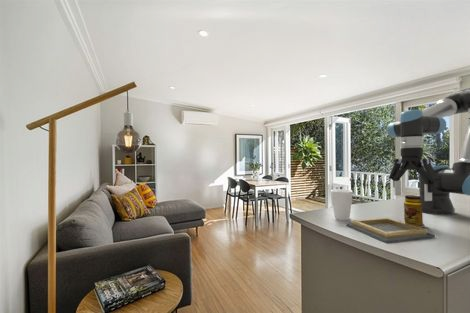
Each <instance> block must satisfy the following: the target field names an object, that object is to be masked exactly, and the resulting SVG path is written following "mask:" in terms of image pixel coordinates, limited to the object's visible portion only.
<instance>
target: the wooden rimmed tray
mask: <svg viewBox="0 0 470 313" xmlns="http://www.w3.org/2000/svg"><path fill="white" fill-rule="evenodd" d="M345 226H346V227H347V228H350V229H353V230H355V231H358V232H360V233H362V234H365V235H367V236H369V237H371V238H374V239H376V240H379V241H381V242H384V243H386V244H387V243H397V242H405V241H406V242H407V241H414V240H415V241H416V240H424V239H435V238H436V235H435V234H434V233H430V232H428V229H427V228H424V227H417V226H413V225H410V224H407V223H403V222H402V221H401V220H400V221H399V220H396V219H393V218H389V217H380V218H379V217H378V218H368V219H367V218H366V219H365V218H364V219H357V220H356V219H355V220H354V219H353V220H351V222H349V223H346V224H345Z"/></svg>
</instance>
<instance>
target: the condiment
mask: <svg viewBox="0 0 470 313" xmlns="http://www.w3.org/2000/svg"><path fill="white" fill-rule="evenodd" d="M403 209H404V210H403V212H404V214H403V216H404V218H403V219H404V220H401V222H405V223H407V224H410V225H413V226H417V227H420V228H427V226H426V225H425V224H424V222H423V221H424V220H423V215H424V214H423V212H422V203H421V197H420V196H419V195H411V194H409V195H405V196H404V202H403Z"/></svg>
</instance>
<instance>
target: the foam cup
mask: <svg viewBox="0 0 470 313" xmlns="http://www.w3.org/2000/svg"><path fill="white" fill-rule="evenodd" d="M353 194H354V193H353V190H352V189H346V188H345V189H343V188H336V189H335V188H334V189H331V190H330V196H331V201H332V208H333V213H334V218H335V219H336V220H339V221H347V220H350V218H351V209H352V202H353Z"/></svg>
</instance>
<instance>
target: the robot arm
mask: <svg viewBox="0 0 470 313" xmlns="http://www.w3.org/2000/svg"><path fill="white" fill-rule="evenodd" d="M463 113H464V114H465V113H469V114H470V87H469V88H465V89H462V90H458V91H456V92H453V93H451V94H449V95H447V96H445V97H444V98H443V97H442V98H441V99H439V100H438V101H437V102H436V103H435V104H434V105H431V106H429V107H427V108H425V109H422V110H421V109H409V110H404V111H402V112H401V113H400V115H399V116H400V117H399V118H400V119H399V121H394V122H391V123H389V124H388V125H387V127H386V132H387V135H388V136H389V137H391V138H400V139H399V140H400V147H401V148H400V157H401V158H395V159H394V163H393V167H392V169H391V171H390V174H389V176H388V179H390V180H392V183H393V185H392V187H393V188H394V190H393V191H394V195H393V196H394V197H395V196H396V197H397V196H402V187H401V186H402V181H401V178H402V177H403V175H405V173H406V172H407V171H409V170H414V171H416V172H417V173H418V184H419V186H418V187H419V191H418V192H419V195H418V196H420V197H421V203H422V213H423V214H424V213H425V214H432V215H444V216H445V215H448V216H449V215H455V213H456V208H455V207H454V203H453V202H452V200H451V197H450V195H451V194H458V195H465V196H470V119H469V121H468V124H467V127H466V132H465V136H464V139H463V143H462V148H461V151H460V155H459V159H458V160H457V161H454V162H453V165H452V168H451V167H450V166H449V165H447V164H446V165H445V164H443V165H432V163H431V161H432V160H431V159H430V158H422V157H423V156H424V148H423V146H424V141H423V140H424V137H423V135H439V134H441V133H443V132H444V131H445V130H446V128H447V121H446V119H444V118H445V117H447V118H448V117H451V116H453V115H458V114H463Z"/></svg>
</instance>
